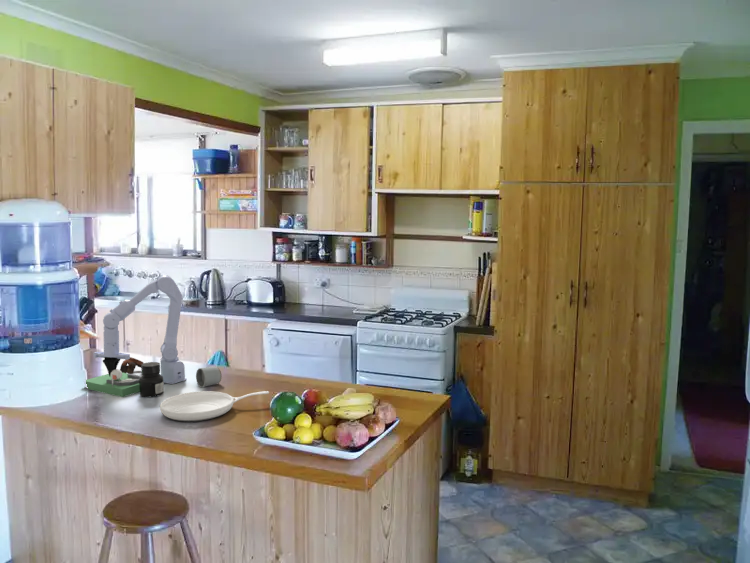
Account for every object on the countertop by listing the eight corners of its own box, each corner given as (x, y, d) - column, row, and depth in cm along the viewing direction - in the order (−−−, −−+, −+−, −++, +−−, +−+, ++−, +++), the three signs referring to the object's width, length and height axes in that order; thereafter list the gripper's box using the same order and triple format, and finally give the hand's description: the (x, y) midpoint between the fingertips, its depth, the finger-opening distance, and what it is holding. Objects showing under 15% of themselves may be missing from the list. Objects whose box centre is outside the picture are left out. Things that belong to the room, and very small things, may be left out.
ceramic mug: (223, 384, 250) (222, 366, 250) (205, 389, 245) (204, 370, 244) (209, 380, 258) (209, 362, 257) (192, 384, 252) (191, 365, 251)
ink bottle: (163, 397, 234) (162, 366, 233) (138, 399, 232) (137, 368, 231) (164, 389, 244) (163, 360, 242) (140, 391, 241) (139, 362, 240)
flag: (118, 395, 237) (116, 374, 236) (116, 395, 237) (115, 375, 236) (113, 394, 238) (112, 373, 237) (112, 394, 238) (111, 374, 237)
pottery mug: (116, 373, 270) (124, 355, 273) (137, 381, 273) (145, 363, 276) (118, 373, 259) (126, 354, 262) (140, 380, 262) (148, 362, 265)
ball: (123, 379, 249) (125, 372, 247) (114, 384, 246) (116, 376, 243) (116, 372, 251) (118, 365, 248) (107, 377, 247) (109, 369, 245)
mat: (156, 386, 248) (155, 376, 248) (122, 397, 235) (121, 386, 234) (117, 378, 260) (116, 368, 260) (83, 387, 247) (82, 377, 246)
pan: (159, 406, 225) (158, 393, 224) (263, 394, 238) (262, 382, 237) (161, 428, 201) (160, 414, 201) (276, 415, 215) (275, 401, 214)
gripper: (133, 341, 250) (133, 374, 251) (100, 339, 252) (100, 372, 253) (124, 345, 243) (124, 378, 244) (90, 343, 245) (90, 376, 246)
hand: (111, 375), depth 248 cm, fingers closed
